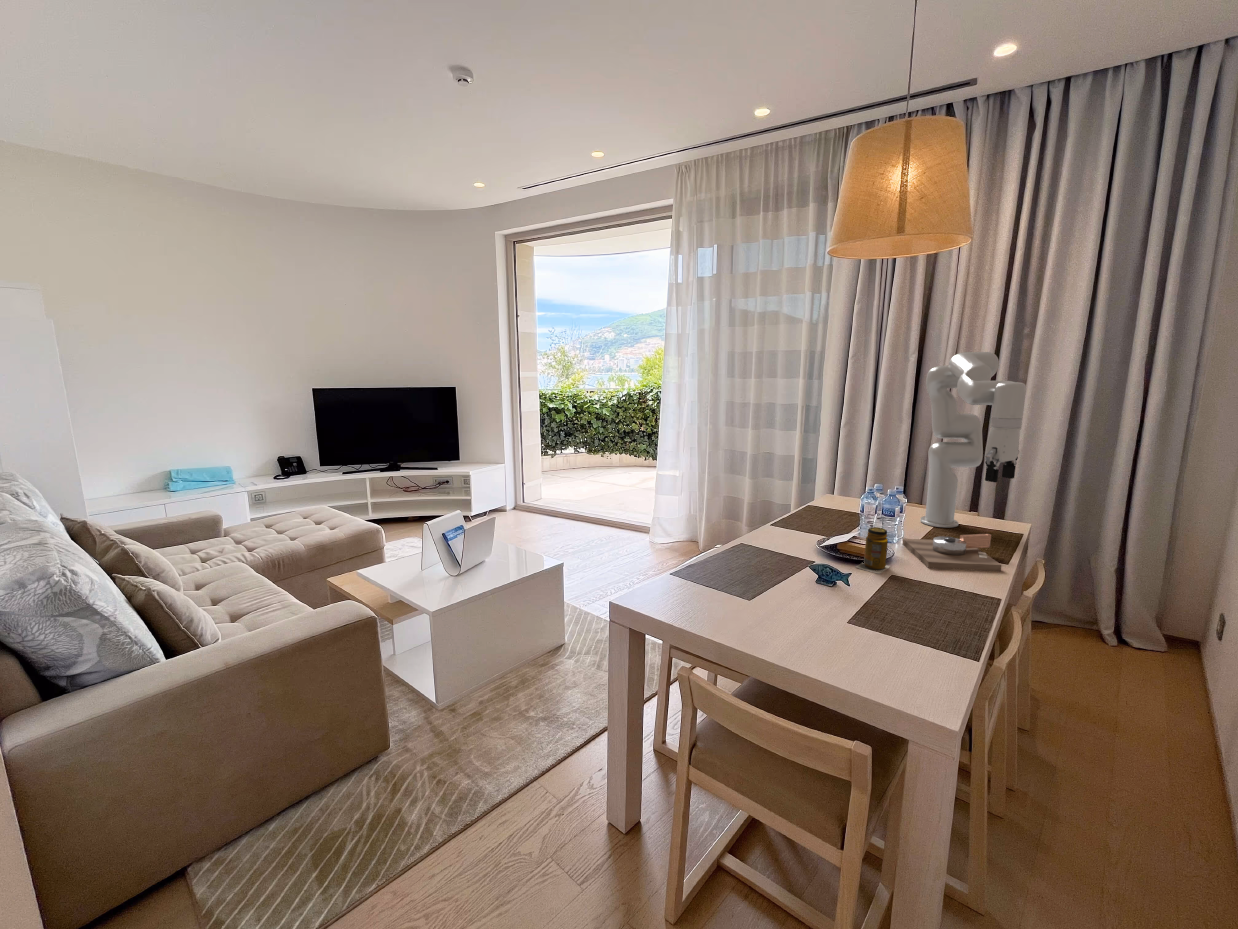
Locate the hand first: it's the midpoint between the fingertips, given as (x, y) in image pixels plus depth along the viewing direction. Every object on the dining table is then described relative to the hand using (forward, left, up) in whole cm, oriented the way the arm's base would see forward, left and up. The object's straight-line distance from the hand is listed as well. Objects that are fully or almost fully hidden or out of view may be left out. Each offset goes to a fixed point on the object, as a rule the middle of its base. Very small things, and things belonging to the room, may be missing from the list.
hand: (999, 479), depth 162 cm
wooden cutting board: (-1, -12, -26) cm, 28 cm away
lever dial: (-3, -7, -23) cm, 25 cm away
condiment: (+11, -38, -26) cm, 47 cm away
